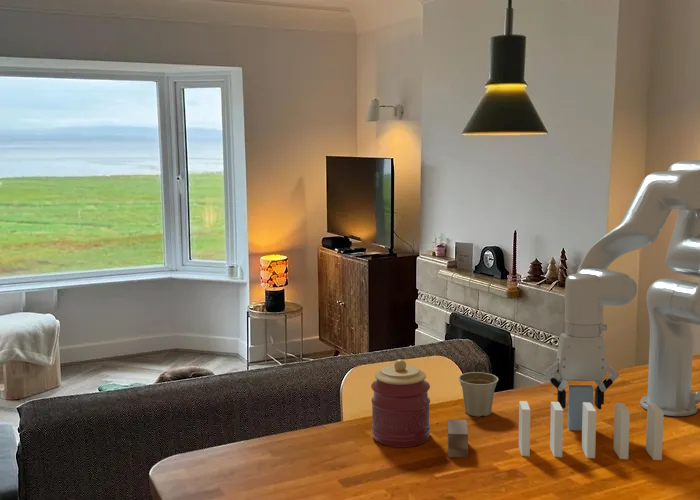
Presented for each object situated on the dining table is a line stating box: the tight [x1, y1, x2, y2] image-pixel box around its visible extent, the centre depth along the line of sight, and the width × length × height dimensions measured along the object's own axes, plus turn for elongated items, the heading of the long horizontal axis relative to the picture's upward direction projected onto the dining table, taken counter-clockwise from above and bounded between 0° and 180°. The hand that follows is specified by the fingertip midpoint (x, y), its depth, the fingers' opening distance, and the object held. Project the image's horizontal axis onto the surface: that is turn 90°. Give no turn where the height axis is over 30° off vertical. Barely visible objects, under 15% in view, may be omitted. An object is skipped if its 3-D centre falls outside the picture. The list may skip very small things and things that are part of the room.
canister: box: [370, 358, 431, 448], centre depth 152 cm, size 13×13×18 cm
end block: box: [447, 418, 469, 458], centre depth 146 cm, size 4×8×5 cm, turn 173°
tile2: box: [613, 402, 631, 460], centre depth 142 cm, size 2×5×10 cm, turn 174°
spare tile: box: [567, 384, 594, 431], centre depth 155 cm, size 2×5×10 cm, turn 84°
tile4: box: [549, 401, 564, 458], centre depth 143 cm, size 2×5×10 cm, turn 174°
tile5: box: [518, 400, 531, 457], centre depth 144 cm, size 2×5×10 cm, turn 173°
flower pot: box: [458, 371, 499, 417], centre depth 167 cm, size 9×9×9 cm
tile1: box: [645, 404, 665, 461], centre depth 141 cm, size 2×5×10 cm, turn 173°
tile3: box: [581, 402, 597, 459], centre depth 142 cm, size 2×5×10 cm, turn 173°
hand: (580, 406), depth 155 cm, fingers open, 7 cm apart
